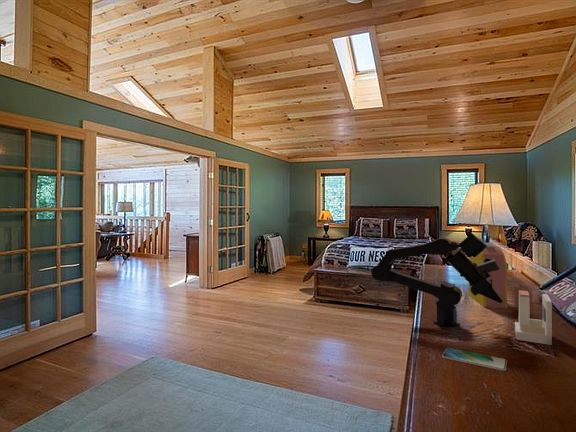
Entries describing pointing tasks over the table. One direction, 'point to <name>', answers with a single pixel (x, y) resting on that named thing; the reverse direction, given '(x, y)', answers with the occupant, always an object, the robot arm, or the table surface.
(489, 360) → the smartphone
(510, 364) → the table surface
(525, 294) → the off-white rectangular block
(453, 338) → the table surface
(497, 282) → the yellow tall block
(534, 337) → the cream l-shaped bracket
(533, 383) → the table surface
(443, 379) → the table surface
